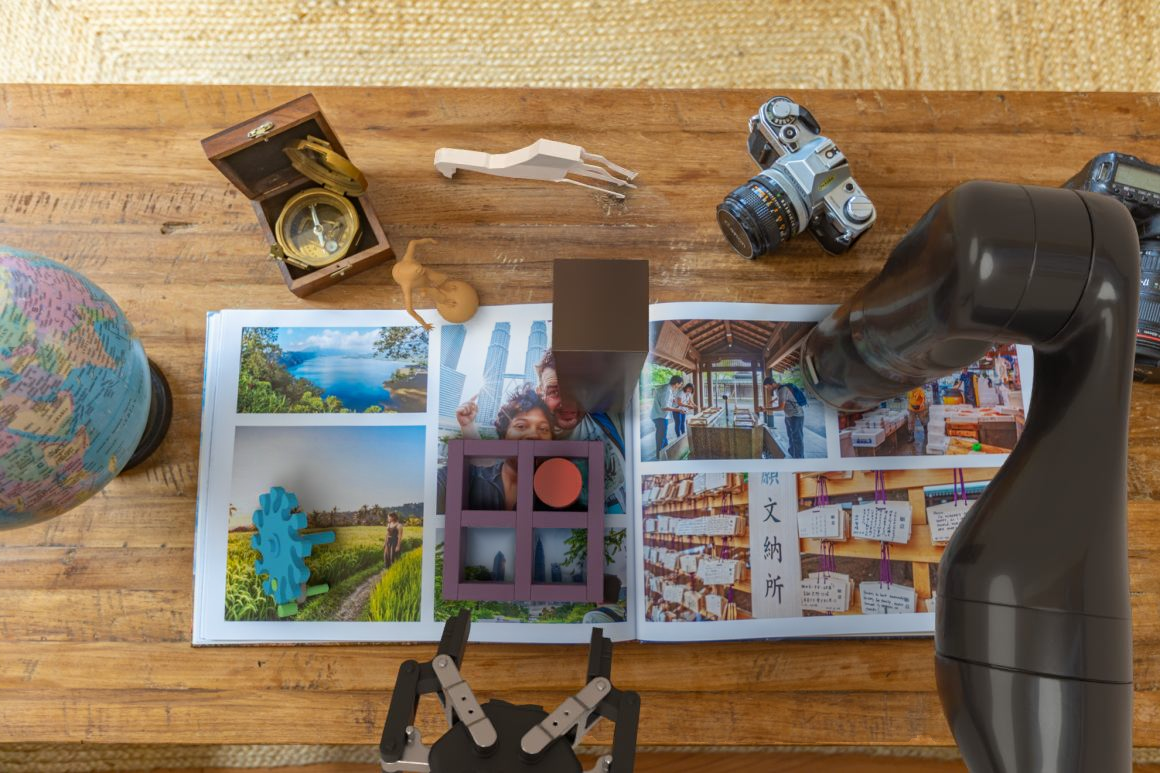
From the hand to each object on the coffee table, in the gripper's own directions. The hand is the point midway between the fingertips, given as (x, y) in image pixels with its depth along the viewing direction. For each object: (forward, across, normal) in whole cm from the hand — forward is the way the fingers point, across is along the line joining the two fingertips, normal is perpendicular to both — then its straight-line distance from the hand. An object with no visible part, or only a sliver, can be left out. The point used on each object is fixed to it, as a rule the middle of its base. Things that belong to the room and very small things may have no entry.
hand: (531, 626), depth 51 cm
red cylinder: (+22, 0, -8) cm, 23 cm away
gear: (+15, -23, -14) cm, 31 cm away
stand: (+29, +2, 0) cm, 29 cm away
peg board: (+19, -3, -10) cm, 22 cm away
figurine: (+33, -13, +3) cm, 35 cm away
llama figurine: (+43, -6, +13) cm, 45 cm away
